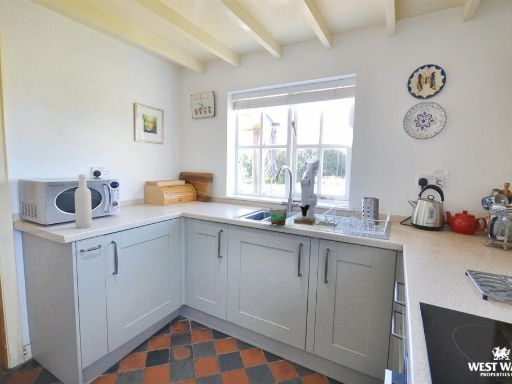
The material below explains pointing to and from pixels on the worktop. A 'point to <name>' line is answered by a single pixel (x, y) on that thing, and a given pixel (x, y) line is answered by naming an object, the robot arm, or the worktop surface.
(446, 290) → the worktop surface
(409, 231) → the worktop surface
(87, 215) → the bottle
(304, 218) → the steel peg
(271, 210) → the food container
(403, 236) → the worktop surface
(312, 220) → the block
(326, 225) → the mat
